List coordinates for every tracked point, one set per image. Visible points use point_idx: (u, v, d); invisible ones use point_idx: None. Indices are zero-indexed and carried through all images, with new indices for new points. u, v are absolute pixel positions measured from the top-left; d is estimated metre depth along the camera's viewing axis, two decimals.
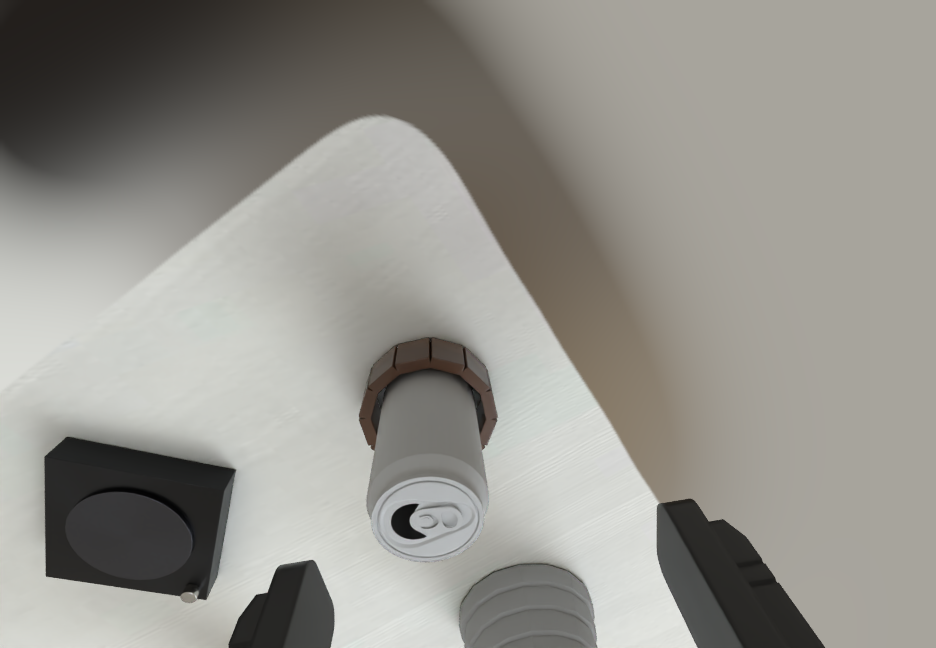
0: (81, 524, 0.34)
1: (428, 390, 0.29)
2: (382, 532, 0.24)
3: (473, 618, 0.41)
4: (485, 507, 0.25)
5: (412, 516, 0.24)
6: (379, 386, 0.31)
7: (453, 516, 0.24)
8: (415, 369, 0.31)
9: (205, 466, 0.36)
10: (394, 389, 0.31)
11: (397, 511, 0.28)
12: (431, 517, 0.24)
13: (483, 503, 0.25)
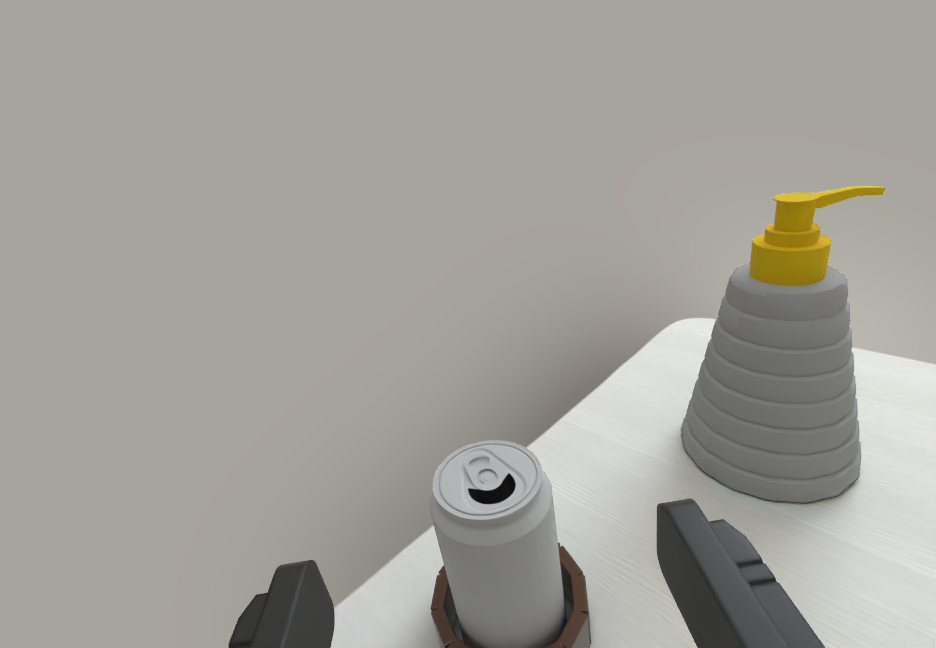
0: None
1: None
2: (511, 506, 0.23)
3: (784, 473, 0.34)
4: None
5: (485, 488, 0.24)
6: None
7: (479, 462, 0.26)
8: (447, 622, 0.27)
9: None
10: (476, 639, 0.26)
11: (553, 538, 0.25)
12: (482, 474, 0.25)
13: None
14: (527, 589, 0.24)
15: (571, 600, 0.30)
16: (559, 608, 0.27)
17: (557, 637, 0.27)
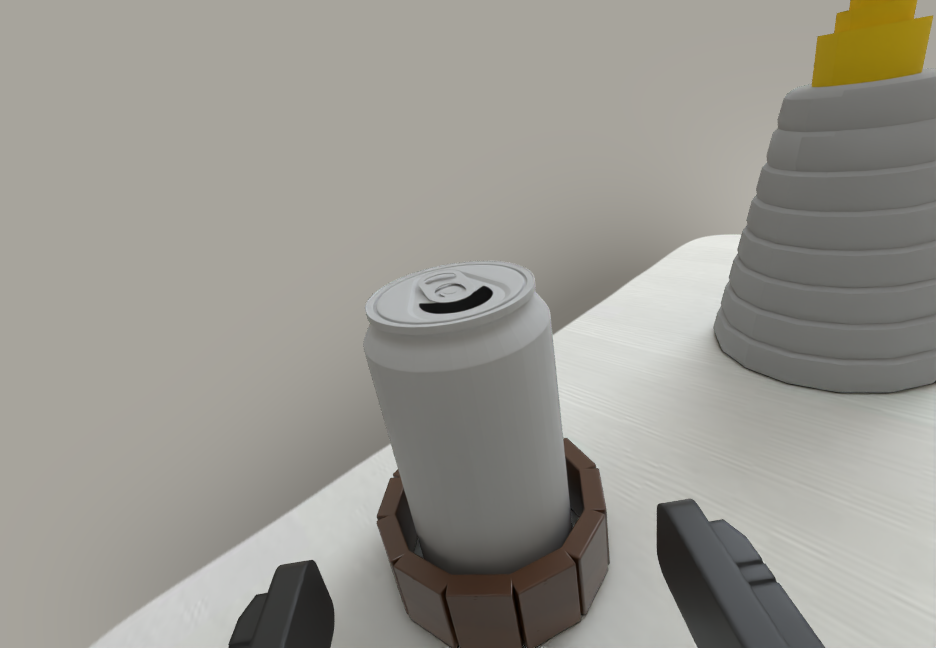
0: None
1: None
2: (483, 311, 0.14)
3: (864, 351, 0.25)
4: None
5: (445, 301, 0.15)
6: (436, 575, 0.17)
7: (441, 281, 0.17)
8: (398, 531, 0.19)
9: None
10: (439, 550, 0.17)
11: (552, 385, 0.16)
12: (444, 289, 0.16)
13: None
14: (512, 457, 0.15)
15: (579, 511, 0.21)
16: (563, 506, 0.18)
17: None
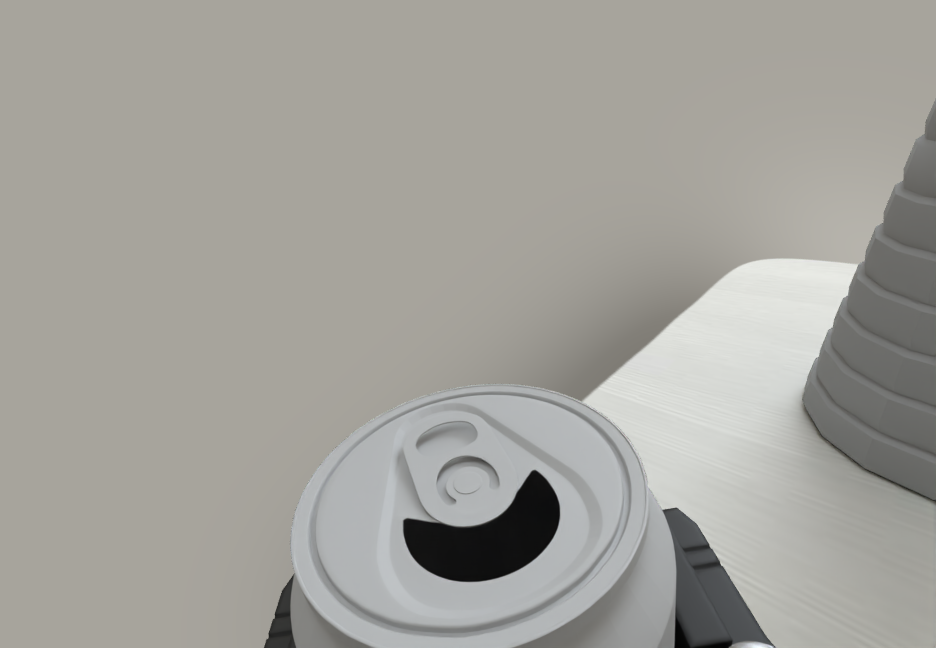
0: None
1: None
2: (551, 594, 0.06)
3: None
4: None
5: (459, 520, 0.07)
6: None
7: (448, 439, 0.09)
8: None
9: None
10: None
11: None
12: (454, 475, 0.08)
13: None
14: None
15: None
16: None
17: None
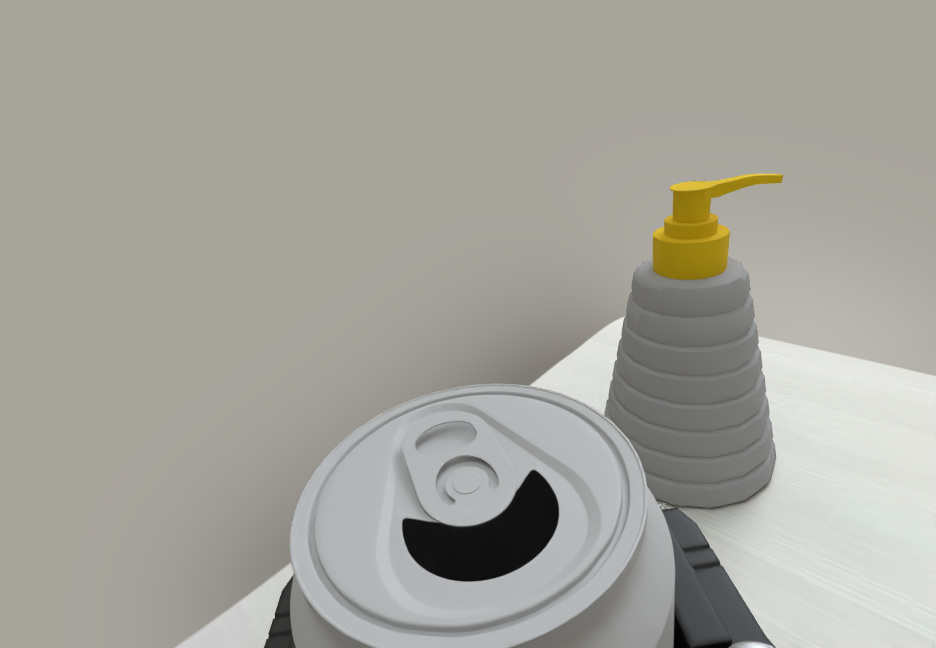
0: None
1: None
2: (550, 593, 0.06)
3: (689, 477, 0.32)
4: None
5: (457, 520, 0.07)
6: None
7: (447, 439, 0.09)
8: None
9: None
10: None
11: None
12: (453, 474, 0.08)
13: None
14: None
15: None
16: None
17: None
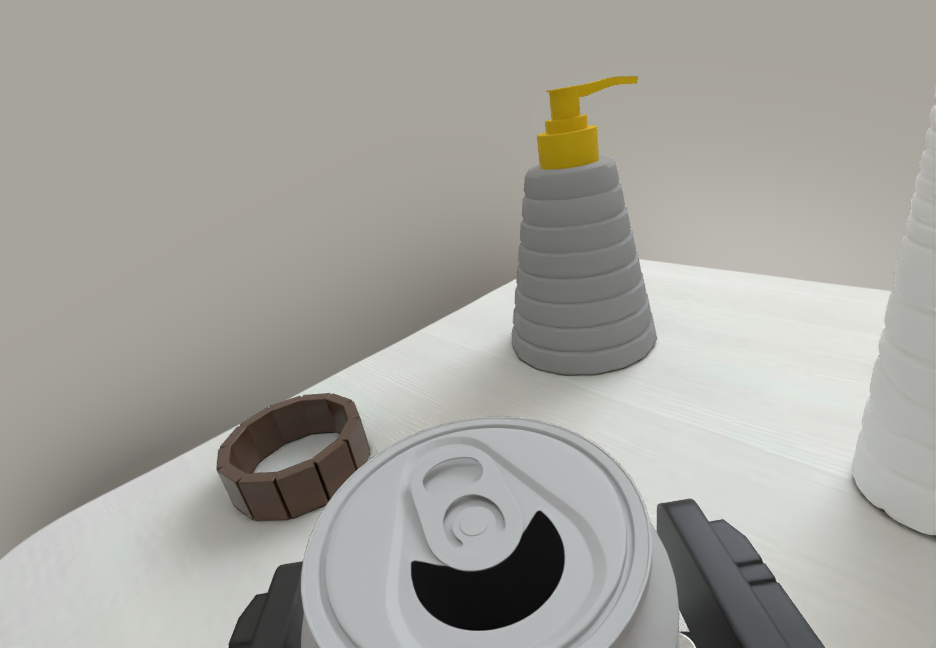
0: None
1: None
2: (557, 646, 0.06)
3: (572, 346, 0.37)
4: None
5: (465, 564, 0.07)
6: (237, 473, 0.29)
7: (454, 475, 0.09)
8: (228, 454, 0.31)
9: None
10: None
11: None
12: (460, 515, 0.08)
13: None
14: None
15: None
16: None
17: None
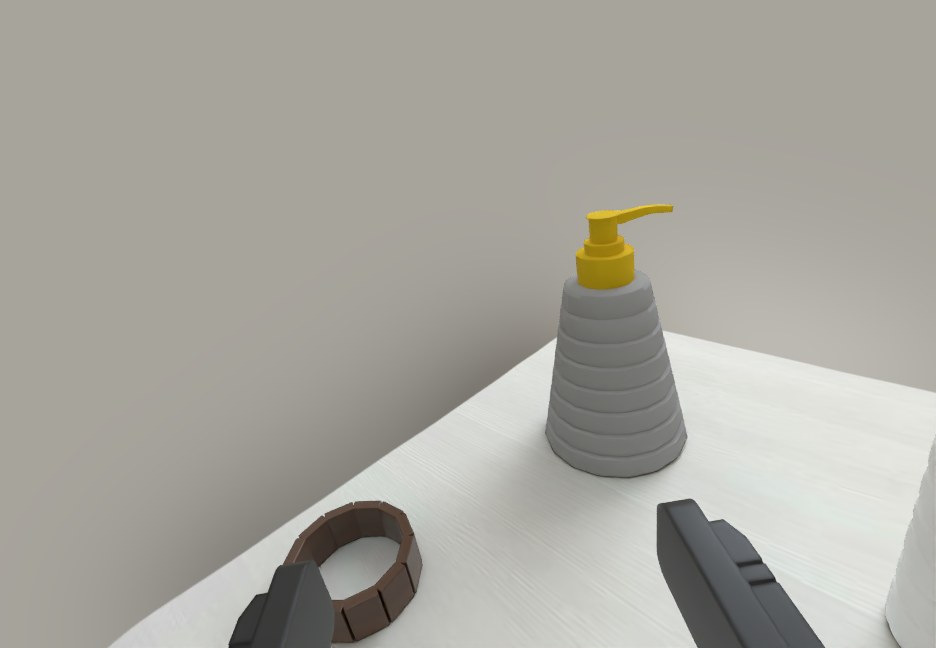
0: None
1: None
2: None
3: (609, 451, 0.39)
4: None
5: None
6: None
7: None
8: None
9: None
10: None
11: None
12: None
13: None
14: None
15: None
16: None
17: None
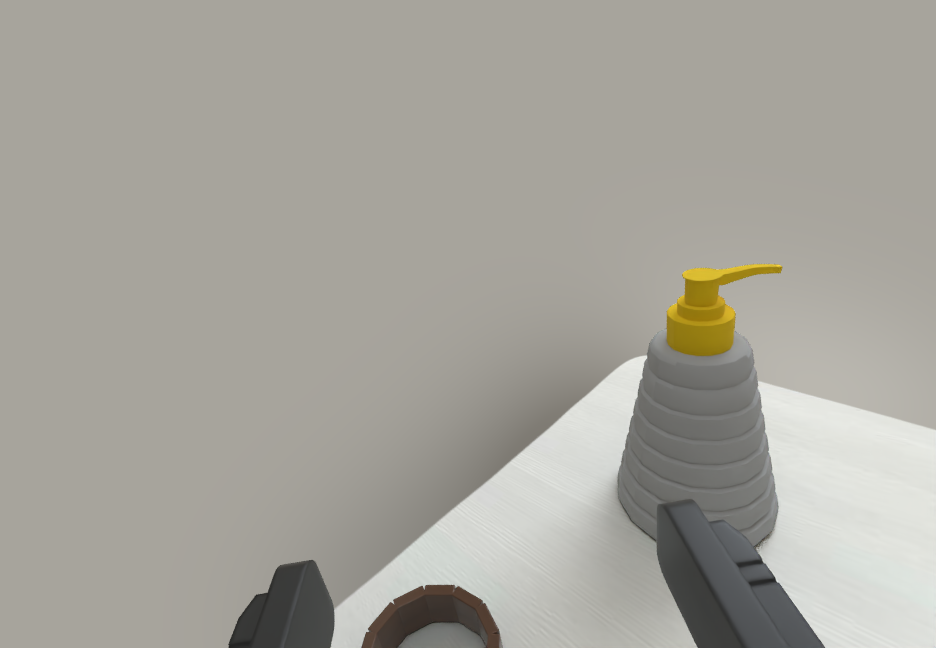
0: None
1: None
2: None
3: None
4: None
5: None
6: None
7: None
8: None
9: None
10: None
11: None
12: None
13: None
14: None
15: None
16: None
17: None
